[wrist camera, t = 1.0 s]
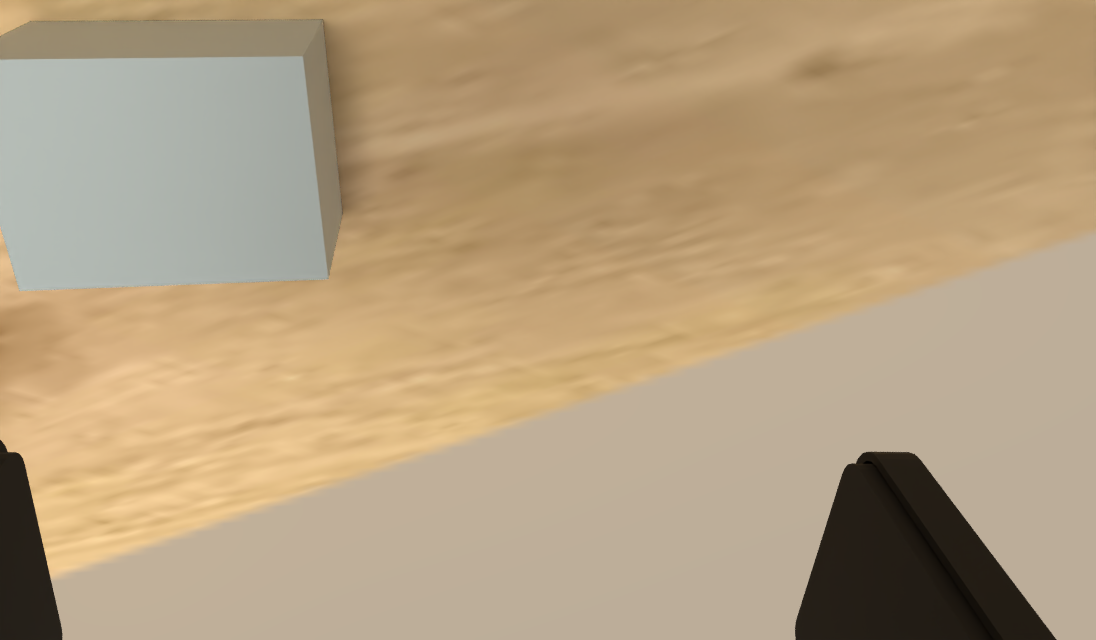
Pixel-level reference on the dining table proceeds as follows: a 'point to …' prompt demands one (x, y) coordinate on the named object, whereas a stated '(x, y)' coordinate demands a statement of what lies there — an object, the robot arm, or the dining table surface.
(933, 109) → the dining table surface
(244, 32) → the block
